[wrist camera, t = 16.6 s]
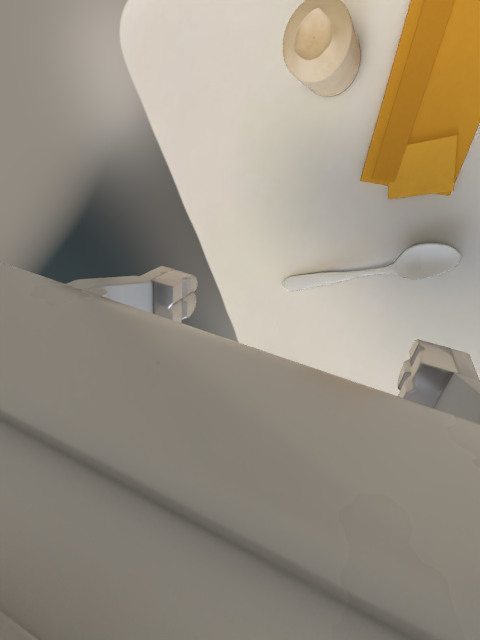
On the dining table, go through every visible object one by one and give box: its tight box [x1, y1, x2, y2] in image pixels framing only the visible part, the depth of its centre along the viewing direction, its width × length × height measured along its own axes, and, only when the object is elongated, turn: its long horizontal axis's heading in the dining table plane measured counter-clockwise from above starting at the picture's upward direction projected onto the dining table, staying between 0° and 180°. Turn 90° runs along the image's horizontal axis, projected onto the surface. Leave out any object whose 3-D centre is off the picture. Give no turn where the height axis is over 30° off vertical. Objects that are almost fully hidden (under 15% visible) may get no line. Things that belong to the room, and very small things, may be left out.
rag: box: [360, 0, 480, 199], centre depth 30 cm, size 9×21×1 cm, turn 172°
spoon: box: [282, 243, 462, 291], centre depth 40 cm, size 4×21×2 cm, turn 108°
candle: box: [283, 0, 361, 97], centre depth 29 cm, size 6×6×10 cm
